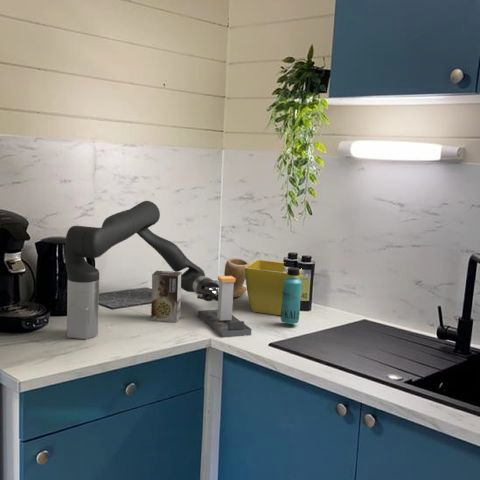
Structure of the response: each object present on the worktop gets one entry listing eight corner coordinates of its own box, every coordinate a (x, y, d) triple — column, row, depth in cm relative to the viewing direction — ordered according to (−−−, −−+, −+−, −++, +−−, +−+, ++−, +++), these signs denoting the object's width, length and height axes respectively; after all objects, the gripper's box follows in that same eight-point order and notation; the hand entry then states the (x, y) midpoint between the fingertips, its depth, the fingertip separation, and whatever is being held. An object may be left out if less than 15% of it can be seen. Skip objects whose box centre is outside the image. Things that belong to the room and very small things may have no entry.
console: (251, 335, 193) (252, 321, 193) (222, 337, 189) (222, 323, 189) (223, 314, 215) (224, 302, 214) (197, 316, 211) (197, 303, 210)
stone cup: (241, 301, 236) (243, 263, 233) (213, 296, 240) (215, 259, 237) (253, 293, 250) (256, 257, 248) (227, 289, 254) (229, 254, 252)
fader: (233, 320, 200) (235, 278, 198) (219, 321, 198) (222, 278, 196) (228, 317, 204) (231, 275, 202) (215, 317, 202) (217, 276, 200)
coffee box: (180, 317, 208) (182, 271, 206) (176, 322, 202) (178, 275, 199) (154, 315, 209) (156, 269, 207) (150, 320, 203) (151, 273, 200)
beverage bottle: (286, 321, 211) (290, 265, 208) (302, 325, 207) (307, 268, 204) (276, 325, 206) (280, 267, 203) (292, 329, 202) (297, 271, 199)
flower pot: (302, 307, 232) (305, 264, 229) (292, 320, 214) (296, 273, 211) (254, 301, 237) (257, 259, 234) (241, 313, 219) (244, 267, 216)
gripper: (188, 278, 214) (205, 290, 198) (223, 277, 219) (242, 288, 204) (187, 299, 215) (204, 312, 200) (222, 297, 220) (240, 310, 205)
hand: (223, 300), depth 202 cm, fingers closed
